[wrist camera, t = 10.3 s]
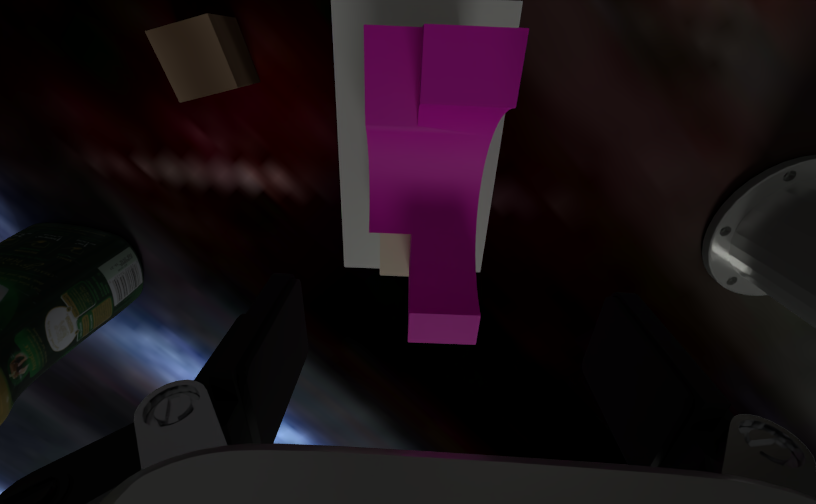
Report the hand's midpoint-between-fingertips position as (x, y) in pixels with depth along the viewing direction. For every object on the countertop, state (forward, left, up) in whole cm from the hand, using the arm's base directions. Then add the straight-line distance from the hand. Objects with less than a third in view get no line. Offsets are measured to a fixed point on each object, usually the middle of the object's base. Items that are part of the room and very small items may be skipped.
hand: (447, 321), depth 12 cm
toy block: (0, -1, -14) cm, 14 cm away
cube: (+15, -6, -20) cm, 26 cm away
